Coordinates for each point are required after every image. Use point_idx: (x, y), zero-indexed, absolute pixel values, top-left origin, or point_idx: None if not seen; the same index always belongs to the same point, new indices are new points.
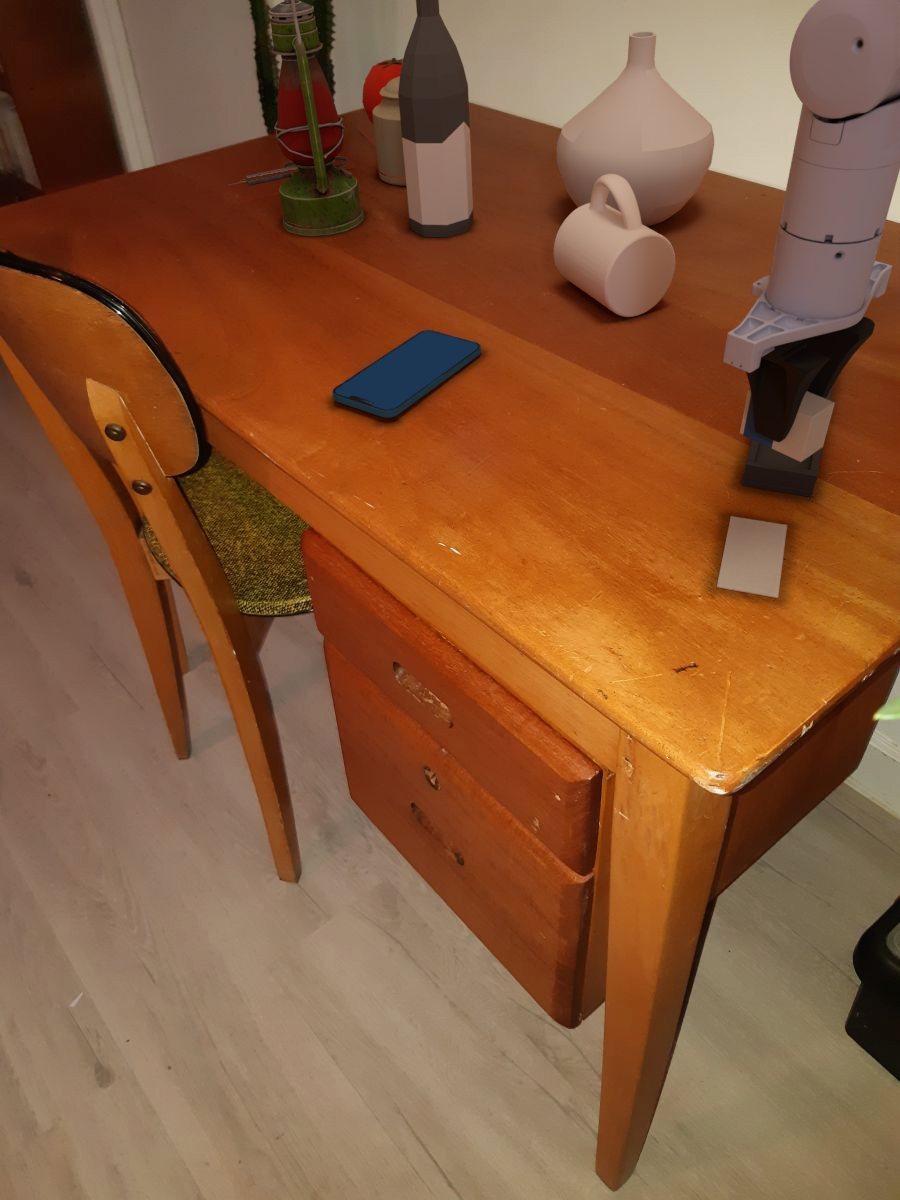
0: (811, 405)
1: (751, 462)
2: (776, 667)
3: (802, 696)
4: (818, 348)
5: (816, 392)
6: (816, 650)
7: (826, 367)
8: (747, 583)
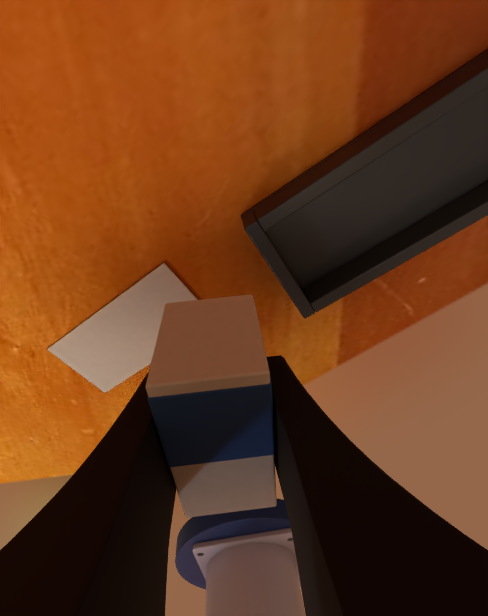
0: (224, 496)
1: (256, 231)
2: (38, 443)
3: (39, 468)
4: (313, 610)
5: (280, 476)
6: (90, 445)
7: (299, 565)
8: (86, 364)
